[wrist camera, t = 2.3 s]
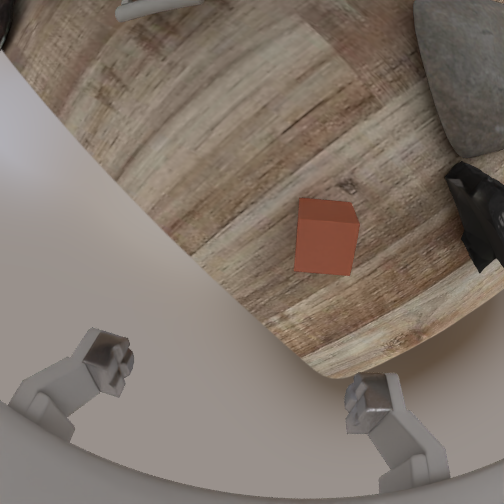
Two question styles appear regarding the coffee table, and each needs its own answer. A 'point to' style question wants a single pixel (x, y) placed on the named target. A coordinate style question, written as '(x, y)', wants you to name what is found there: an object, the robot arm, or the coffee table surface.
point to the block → (325, 237)
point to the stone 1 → (5, 19)
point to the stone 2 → (465, 69)
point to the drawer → (149, 7)
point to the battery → (479, 212)
